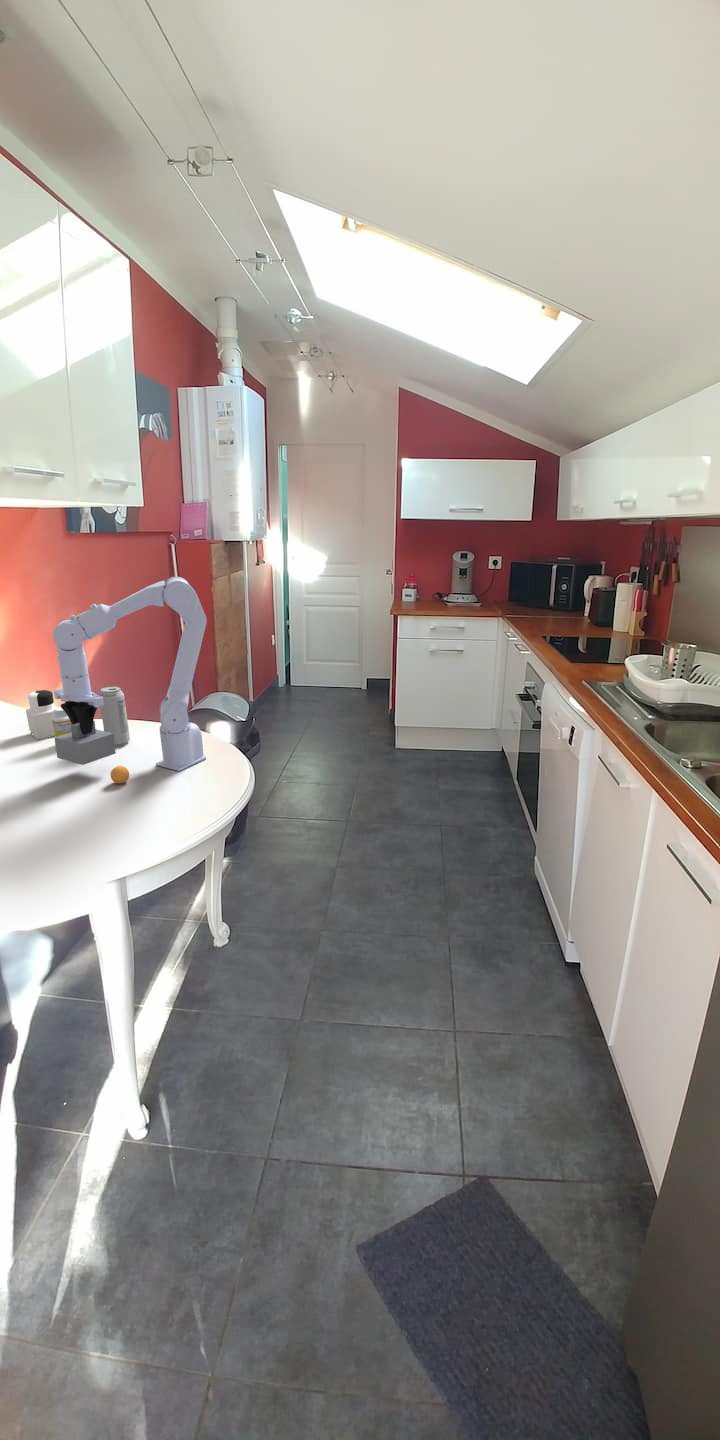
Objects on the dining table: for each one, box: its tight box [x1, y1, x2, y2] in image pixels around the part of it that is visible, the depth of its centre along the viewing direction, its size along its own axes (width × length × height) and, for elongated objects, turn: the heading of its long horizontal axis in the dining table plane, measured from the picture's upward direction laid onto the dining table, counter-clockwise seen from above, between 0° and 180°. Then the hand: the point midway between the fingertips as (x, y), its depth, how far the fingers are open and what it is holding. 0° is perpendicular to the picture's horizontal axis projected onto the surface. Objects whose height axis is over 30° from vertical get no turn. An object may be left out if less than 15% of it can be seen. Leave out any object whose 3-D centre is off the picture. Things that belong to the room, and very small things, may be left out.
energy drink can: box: [99, 685, 131, 748], centre depth 174 cm, size 6×6×15 cm
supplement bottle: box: [52, 705, 72, 738], centre depth 175 cm, size 6×6×10 cm
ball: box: [110, 765, 130, 785], centre depth 152 cm, size 4×4×4 cm
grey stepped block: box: [54, 720, 117, 766], centre depth 155 cm, size 9×9×8 cm
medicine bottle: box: [25, 689, 57, 740], centre depth 183 cm, size 7×7×12 cm
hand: (83, 732), depth 154 cm, fingers closed on grey stepped block
